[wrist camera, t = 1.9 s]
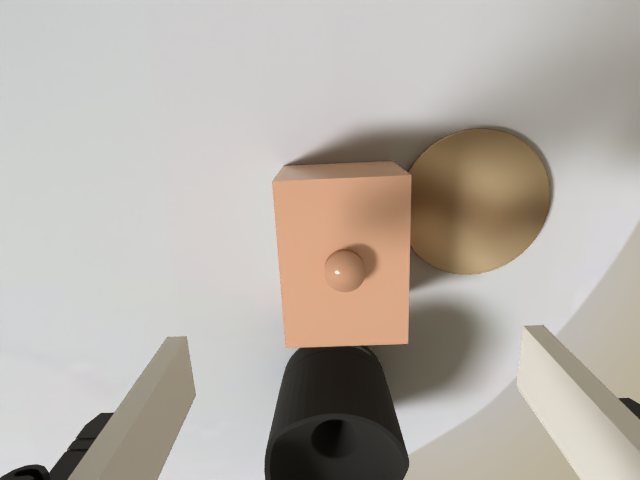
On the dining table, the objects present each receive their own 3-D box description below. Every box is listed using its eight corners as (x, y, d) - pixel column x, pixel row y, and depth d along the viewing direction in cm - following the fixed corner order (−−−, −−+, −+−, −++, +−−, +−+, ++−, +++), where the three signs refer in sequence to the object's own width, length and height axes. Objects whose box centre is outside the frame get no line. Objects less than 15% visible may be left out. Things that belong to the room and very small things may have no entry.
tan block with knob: (283, 165, 30) (269, 184, 23) (392, 160, 30) (415, 177, 23) (293, 301, 34) (284, 356, 26) (391, 297, 34) (411, 352, 26)
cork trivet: (399, 132, 30) (400, 132, 29) (554, 124, 29) (559, 125, 29) (397, 274, 33) (399, 277, 32) (537, 268, 33) (541, 271, 32)
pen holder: (405, 394, 36) (434, 495, 27) (314, 437, 38) (310, 546, 28) (355, 311, 34) (366, 389, 24) (259, 359, 35) (235, 451, 26)
